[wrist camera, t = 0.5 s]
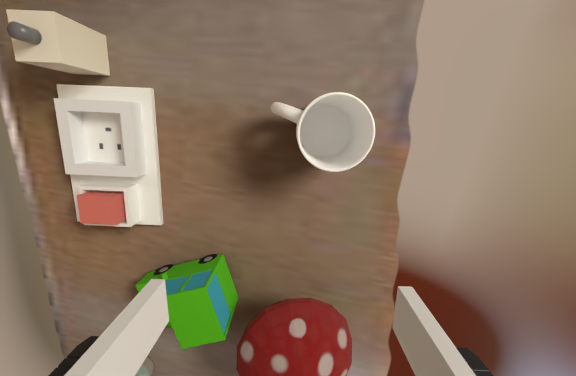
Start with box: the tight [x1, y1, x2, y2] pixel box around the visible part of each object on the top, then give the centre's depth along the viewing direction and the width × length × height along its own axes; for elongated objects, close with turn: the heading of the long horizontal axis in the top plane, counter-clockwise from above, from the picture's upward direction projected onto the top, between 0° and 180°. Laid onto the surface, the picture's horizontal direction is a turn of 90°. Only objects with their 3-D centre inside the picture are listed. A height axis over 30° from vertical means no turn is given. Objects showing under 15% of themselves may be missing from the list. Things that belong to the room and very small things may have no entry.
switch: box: [76, 192, 125, 225], centre depth 37 cm, size 4×5×2 cm
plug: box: [6, 9, 110, 76], centre depth 31 cm, size 5×5×10 cm
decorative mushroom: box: [237, 298, 352, 376], centre depth 38 cm, size 16×16×15 cm
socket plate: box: [54, 84, 163, 227], centre depth 38 cm, size 20×13×3 cm, turn 178°
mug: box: [271, 92, 375, 172], centre depth 33 cm, size 12×8×10 cm
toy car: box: [135, 254, 239, 349], centre depth 39 cm, size 10×13×10 cm
